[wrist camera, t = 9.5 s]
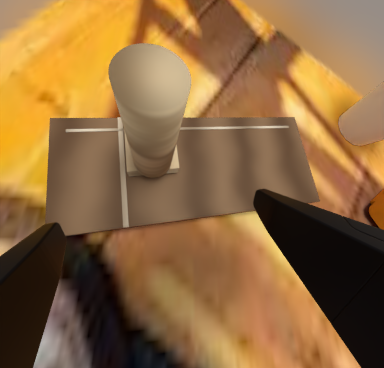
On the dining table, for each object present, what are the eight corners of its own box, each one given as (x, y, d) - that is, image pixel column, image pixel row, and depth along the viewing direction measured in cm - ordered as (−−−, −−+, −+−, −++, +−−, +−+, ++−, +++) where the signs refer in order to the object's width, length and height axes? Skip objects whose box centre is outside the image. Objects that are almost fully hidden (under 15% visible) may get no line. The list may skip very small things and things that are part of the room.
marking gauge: (166, 110, 23) (182, -41, 10) (176, 184, 21) (211, 110, 8) (126, 109, 22) (88, -60, 9) (131, 188, 20) (91, 110, 7)
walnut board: (284, 125, 27) (294, 117, 25) (307, 203, 25) (320, 201, 23) (59, 128, 20) (49, 117, 18) (56, 237, 18) (44, 238, 16)
